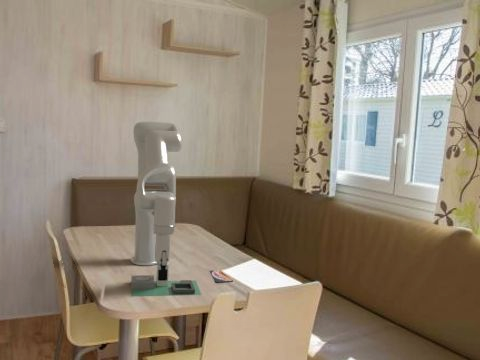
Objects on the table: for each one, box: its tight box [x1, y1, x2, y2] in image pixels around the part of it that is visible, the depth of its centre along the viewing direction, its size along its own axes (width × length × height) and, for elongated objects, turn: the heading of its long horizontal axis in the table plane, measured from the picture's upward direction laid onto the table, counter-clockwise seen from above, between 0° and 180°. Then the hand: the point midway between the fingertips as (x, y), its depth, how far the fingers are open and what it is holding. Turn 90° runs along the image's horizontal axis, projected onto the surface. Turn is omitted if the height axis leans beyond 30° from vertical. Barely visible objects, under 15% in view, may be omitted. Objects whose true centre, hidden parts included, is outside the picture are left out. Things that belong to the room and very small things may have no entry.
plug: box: [155, 262, 169, 286], centre depth 183 cm, size 4×4×8 cm
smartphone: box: [209, 269, 234, 284], centre depth 200 cm, size 8×1×15 cm
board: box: [130, 274, 202, 297], centre depth 180 cm, size 16×24×4 cm, turn 102°
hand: (162, 277), depth 183 cm, fingers closed on plug, 4 cm apart
